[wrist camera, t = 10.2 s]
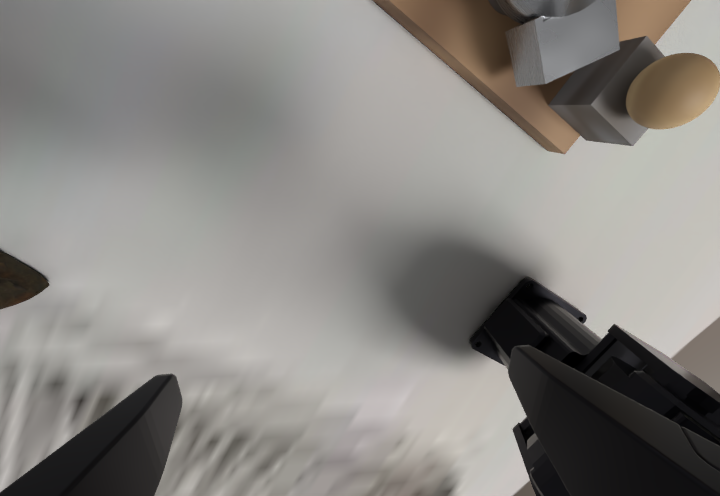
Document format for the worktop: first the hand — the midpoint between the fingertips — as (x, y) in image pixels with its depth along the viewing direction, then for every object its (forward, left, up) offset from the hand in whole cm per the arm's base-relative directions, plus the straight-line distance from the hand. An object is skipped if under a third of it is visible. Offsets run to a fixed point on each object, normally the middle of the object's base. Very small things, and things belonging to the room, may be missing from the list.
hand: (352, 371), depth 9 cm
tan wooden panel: (+2, -20, -12) cm, 23 cm away
